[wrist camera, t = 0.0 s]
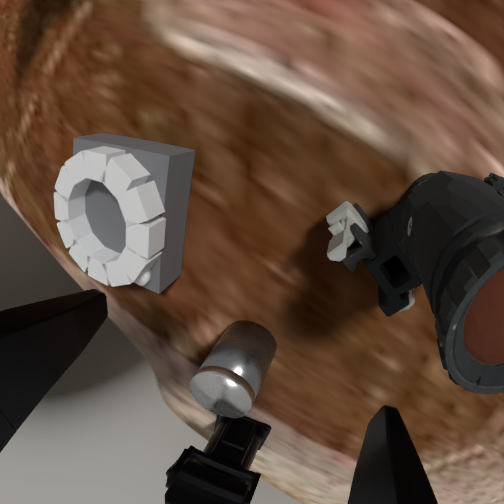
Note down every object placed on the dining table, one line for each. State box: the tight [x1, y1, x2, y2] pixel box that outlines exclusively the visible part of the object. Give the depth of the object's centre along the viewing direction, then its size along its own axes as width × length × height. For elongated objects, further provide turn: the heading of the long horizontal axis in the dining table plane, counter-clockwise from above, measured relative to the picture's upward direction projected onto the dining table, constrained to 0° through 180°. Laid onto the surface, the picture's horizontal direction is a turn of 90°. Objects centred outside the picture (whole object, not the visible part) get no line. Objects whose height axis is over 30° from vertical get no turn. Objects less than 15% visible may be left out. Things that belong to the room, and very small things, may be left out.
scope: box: [326, 171, 504, 394], centre depth 12 cm, size 8×14×10 cm
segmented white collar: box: [54, 133, 196, 294], centre depth 23 cm, size 11×10×6 cm
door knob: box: [190, 321, 277, 418], centre depth 24 cm, size 5×5×7 cm
